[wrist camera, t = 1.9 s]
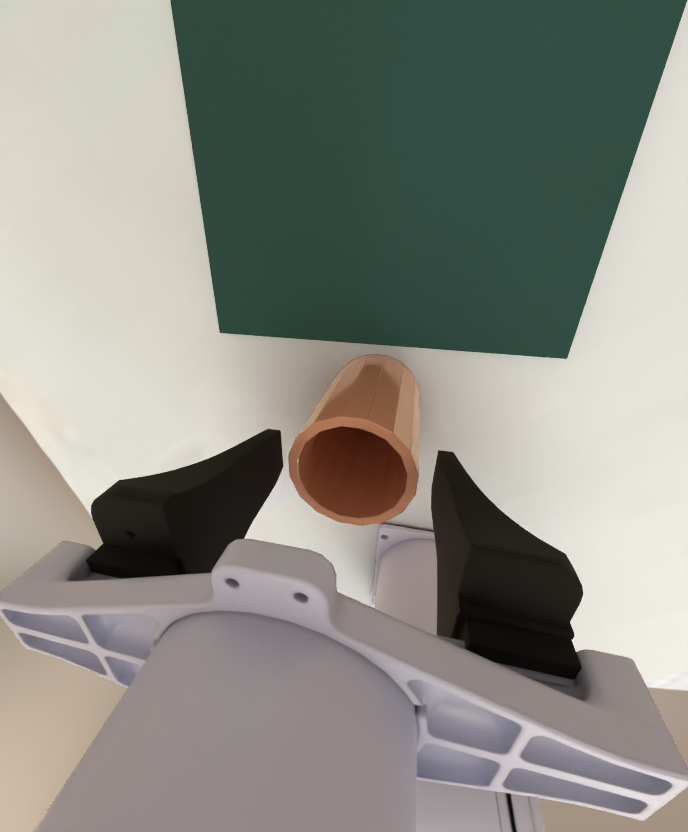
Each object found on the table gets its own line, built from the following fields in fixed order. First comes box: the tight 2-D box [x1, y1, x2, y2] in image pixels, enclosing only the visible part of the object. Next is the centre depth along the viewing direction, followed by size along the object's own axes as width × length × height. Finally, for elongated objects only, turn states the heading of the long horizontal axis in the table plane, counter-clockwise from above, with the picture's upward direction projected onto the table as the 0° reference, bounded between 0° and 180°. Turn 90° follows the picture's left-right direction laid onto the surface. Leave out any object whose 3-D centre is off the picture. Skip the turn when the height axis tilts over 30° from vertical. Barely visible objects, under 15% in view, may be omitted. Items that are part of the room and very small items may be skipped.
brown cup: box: [288, 355, 420, 525], centre depth 18 cm, size 6×6×8 cm
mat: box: [171, 0, 687, 359], centre depth 15 cm, size 20×20×1 cm
